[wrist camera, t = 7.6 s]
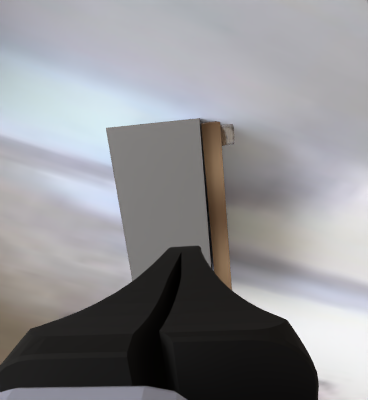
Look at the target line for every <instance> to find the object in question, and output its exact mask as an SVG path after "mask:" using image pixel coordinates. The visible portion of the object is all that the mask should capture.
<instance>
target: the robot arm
mask: <svg viewBox="0 0 368 400" xmlns="http://www.w3.org/2000/svg"><path fill="white" fill-rule="evenodd" d="M318 388H319V384H318V376H317V371H316V369H315V366H314V364H313V361H312V359H311V357H310V355H309V353H308V352H307V350H306V348H305V346H304V345H303V343H302V341H301V340H300V338H299V337H298V335H297V334H296V332H295V331H294V329H293V328H292V326H291V325H290V323H289V322H288V321H287V320H286V319H283V318H281V317H279V316H276V315H274V314H271V313H269V312H267V311H264V310H262V309H260V308H258V307H256V306H255V305H253V304H251V303H249V302H248V301H246V300H244V299H243V298H241V297H240V296H239V295H237V294H236V293H234V292H233V291H232V290H231V289H230V288H228V287H227V286H226V285H225V284H224V283H223V282H222V281H221V280H220V278H219V277H218V276H217V275H216V274H215V273H214V271H213V270H212V269H211V267H210V266H209V264H208V263H207V261H206V259H205V258H204V256H203V254H202V251H201V247H200V246H181V247H170V248H168V249H167V250H166V251H165V252H164V253H163V254H162V255H161V256H160V257H159V258H158V259H157V260H156V261H155V262H154V263H153V264H152V265H151V266H150V267H149V268H148V269H147V270H146V271H144V272H143V273H142V274H141V275H140V276H138V277H137V278H136V279H135V280H134V281H132V282H131V283H129V284H128V285H127V286H125V287H124V288H122V289H121V290H119V291H118V292H116V293H114V294H112V295H111V296H109V297H107V298H105V299H103V300H102V301H100V302H98V303H96V304H94V305H92V306H90V307H88V308H86V309H84V310H81V311H79V312H77V313H74V314H72V315H69V316H67V317H64V318H62V319H59V320H56V321H53V322H50V323H47V324H44V325H41V326H38V327H35V328H32V329H30V330H29V331H28V332H27V333H26V335H25V336H24V337H23V338H22V340H21V341H20V342H19V343H18V344H17V346H16V347H15V348H14V349H13V350H12V352H11V353H10V354H9V355H8V357H7V358H6V359H5V360H4V361H3V363H2V364H1V365H0V400H318Z"/></svg>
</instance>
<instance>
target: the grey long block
mask: <svg viewBox="0 0 368 400" xmlns="http://www.w3.org/2000/svg"><path fill="white" fill-rule="evenodd" d="M106 132H107V137H108V143H109V149H110V155H111V160H112V166H113V172H114V178H115V183H116V189H117V195H118V201H119V206H120V212H121V218H122V224H123V229H124V235H125V241H126V247H127V252H128V258H129V264H130V270H131V275H132V281H134V280H135V279H136V278H137V277H138V276H140V275H141V274H142V273H143V272H144V271H146V270H147V269H148V268H149V267H150V266H151V265H152V264H153V263H154V262H155V261H156V260H157V259H158V258H159V257H160V256H161V255H162V254H163V253H164V252H165V251H166V250H167V249H168V248H170V247H181V246H200V247H201V251H202V254H203V256H204V258H205V259H206V261H207V263H208V264H209V266H210V267H211V269H212V263H211V250H210V238H209V225H208V212H207V200H206V187H205V174H204V162H203V149H202V137H201V124H200V118H198V119H188V120H178V121H169V122H159V123H149V124H140V125H130V126H121V127H111V128H106Z"/></svg>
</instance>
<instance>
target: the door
mask: <svg viewBox="0 0 368 400" xmlns="http://www.w3.org/2000/svg"><path fill="white" fill-rule="evenodd" d="M201 128H202V139H203V150H204V161H205V173H206V184H207V195H208V206H209V218H210V229H211V240H212V251H213V263H214V273H215V274H216V275H217V276H218V277H219V278H220V280H221V281H222V282H223V283H224V284H225V285H226V286H227V287H228V288H230V289H231V290H232V287H231V272H230V258H229V244H228V230H227V215H226V201H225V187H224V172H223V158H222V146H225V145H234V128H233V124H226V125H220V122H217V121H214V122H205V123H201Z"/></svg>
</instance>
